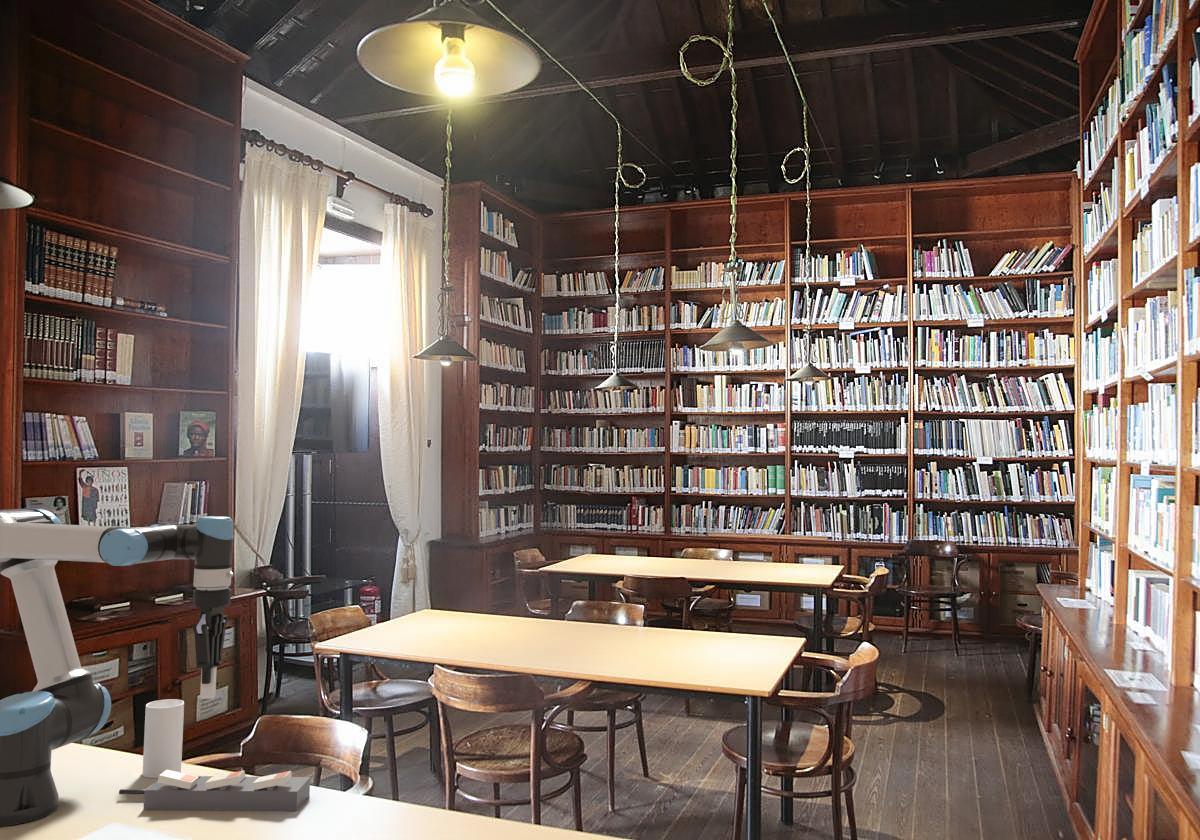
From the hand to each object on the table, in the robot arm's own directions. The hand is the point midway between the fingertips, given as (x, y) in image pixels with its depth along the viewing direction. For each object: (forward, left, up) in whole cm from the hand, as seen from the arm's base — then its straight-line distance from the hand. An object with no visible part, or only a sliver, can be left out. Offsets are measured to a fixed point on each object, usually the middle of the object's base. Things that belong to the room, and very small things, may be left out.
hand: (207, 697), depth 193 cm
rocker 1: (-5, -1, -17) cm, 18 cm away
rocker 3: (+15, -1, -17) cm, 23 cm away
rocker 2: (+5, -1, -17) cm, 18 cm away
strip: (+1, +1, -22) cm, 22 cm away
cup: (-18, +20, -23) cm, 35 cm away
